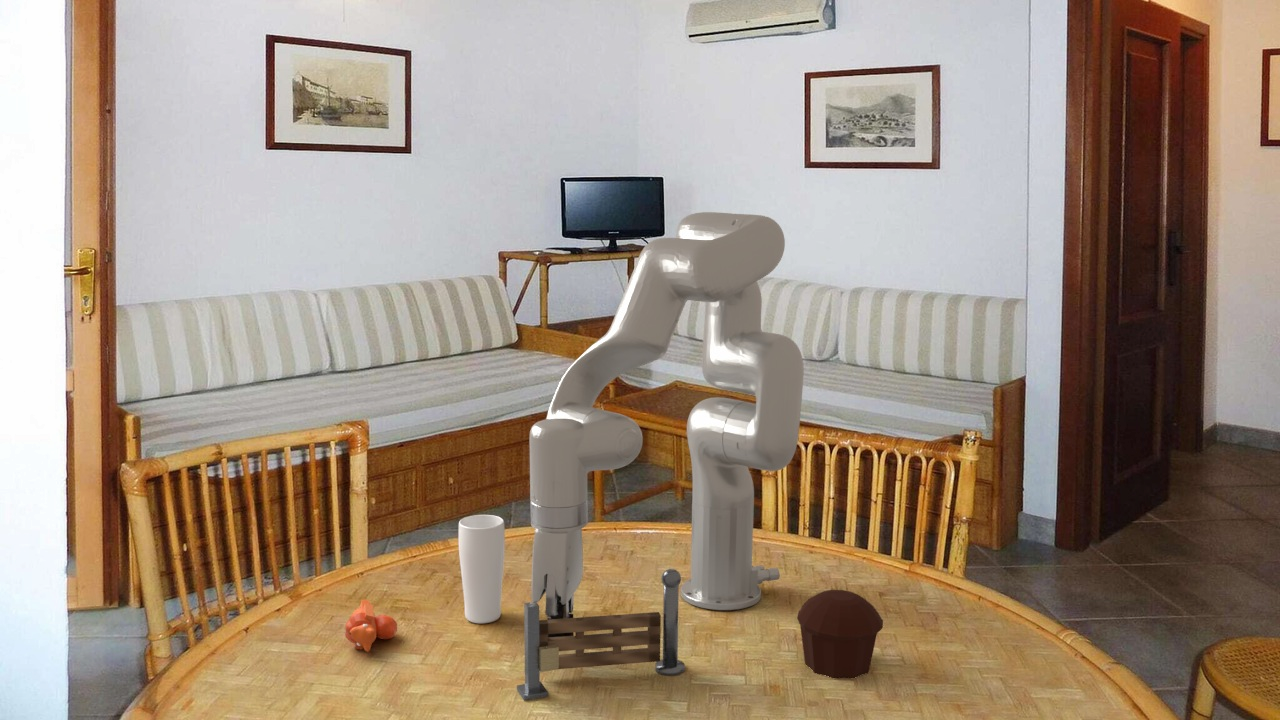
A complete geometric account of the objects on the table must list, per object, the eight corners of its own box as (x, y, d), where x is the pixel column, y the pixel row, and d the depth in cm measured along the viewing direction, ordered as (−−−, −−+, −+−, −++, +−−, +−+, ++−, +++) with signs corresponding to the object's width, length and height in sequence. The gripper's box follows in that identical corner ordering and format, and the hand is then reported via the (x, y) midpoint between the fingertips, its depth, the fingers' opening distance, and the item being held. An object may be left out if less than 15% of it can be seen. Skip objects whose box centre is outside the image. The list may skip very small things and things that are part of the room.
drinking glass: (497, 628, 167) (496, 530, 164) (453, 624, 168) (451, 526, 166) (511, 611, 174) (510, 515, 171) (469, 607, 175) (467, 512, 172)
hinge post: (677, 660, 157) (678, 562, 155) (689, 672, 153) (691, 572, 151) (650, 665, 156) (651, 566, 153) (662, 677, 152) (663, 576, 149)
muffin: (778, 660, 158) (780, 591, 156) (834, 640, 164) (837, 573, 163) (842, 692, 148) (845, 619, 147) (899, 669, 155) (902, 599, 153)
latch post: (550, 683, 150) (550, 596, 148) (558, 694, 147) (558, 606, 145) (516, 689, 148) (515, 601, 146) (524, 700, 145) (523, 611, 143)
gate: (658, 657, 155) (658, 611, 153) (660, 661, 153) (660, 615, 152) (535, 667, 151) (535, 620, 150) (536, 670, 150) (536, 624, 149)
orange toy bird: (349, 588, 167) (350, 620, 156) (399, 599, 169) (404, 631, 158) (339, 620, 167) (339, 654, 156) (389, 631, 170) (393, 665, 158)
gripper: (546, 494, 159) (548, 619, 162) (515, 529, 145) (517, 665, 148) (599, 497, 158) (600, 623, 161) (573, 533, 143) (574, 670, 147)
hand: (560, 643), depth 155 cm, fingers closed
